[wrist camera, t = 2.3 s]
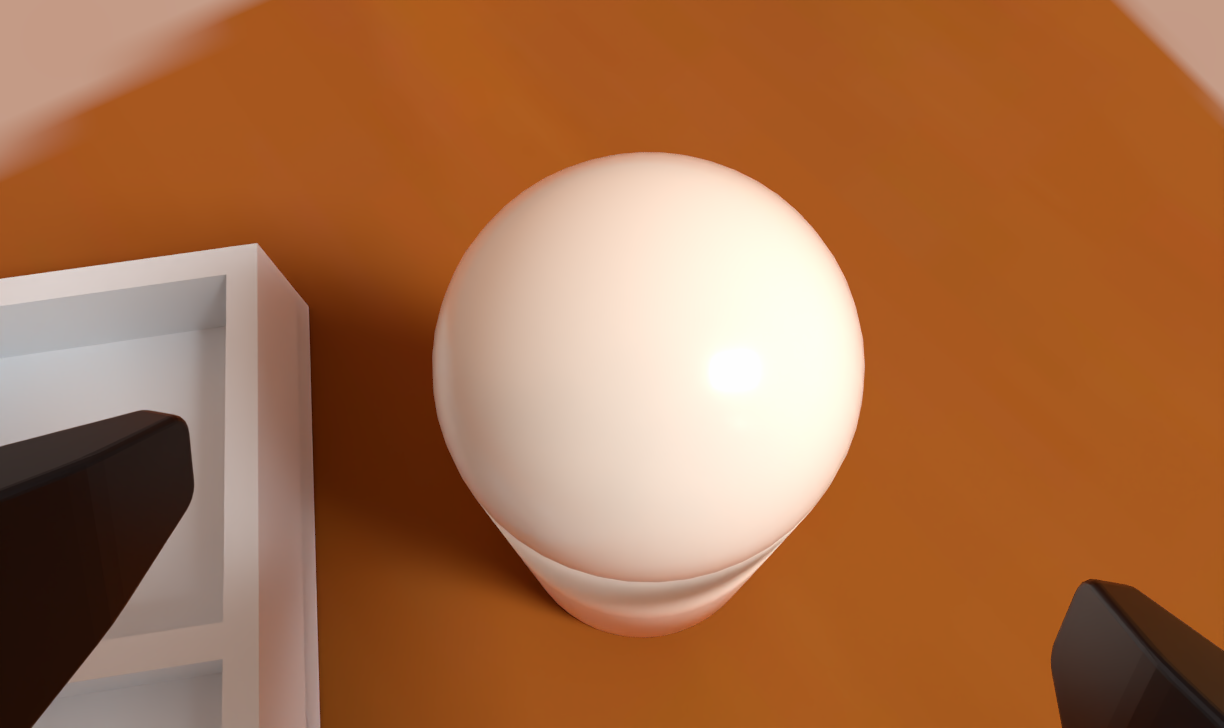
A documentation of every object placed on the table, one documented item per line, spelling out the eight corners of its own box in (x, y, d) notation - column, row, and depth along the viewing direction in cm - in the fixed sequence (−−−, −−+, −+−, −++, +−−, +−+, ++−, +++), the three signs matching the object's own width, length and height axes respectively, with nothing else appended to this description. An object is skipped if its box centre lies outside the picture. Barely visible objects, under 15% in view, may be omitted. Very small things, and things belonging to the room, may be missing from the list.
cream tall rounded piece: (672, 690, 17) (730, 671, 7) (472, 541, 18) (268, 333, 8) (806, 484, 19) (1019, 213, 8) (612, 356, 20) (591, -21, 9)
